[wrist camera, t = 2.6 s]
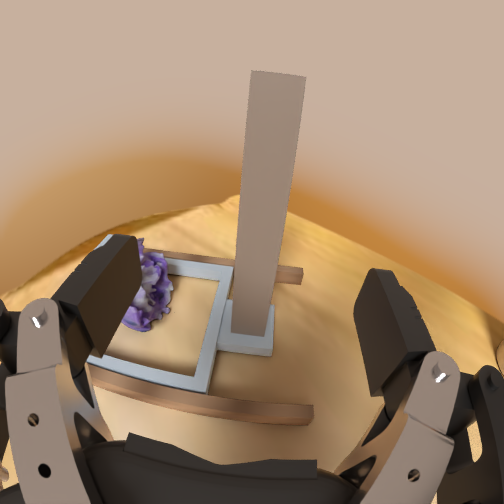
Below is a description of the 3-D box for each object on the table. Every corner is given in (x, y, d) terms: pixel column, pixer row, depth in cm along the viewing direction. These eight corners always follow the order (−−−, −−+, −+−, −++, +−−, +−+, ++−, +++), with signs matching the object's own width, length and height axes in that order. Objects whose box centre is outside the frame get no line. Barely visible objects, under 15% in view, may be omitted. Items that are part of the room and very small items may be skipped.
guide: (32, 357, 20) (25, 347, 19) (107, 253, 36) (105, 242, 35) (307, 425, 19) (313, 417, 18) (300, 278, 36) (302, 268, 35)
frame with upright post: (49, 351, 21) (-31, 116, 8) (113, 259, 35) (95, 86, 22) (268, 406, 20) (351, 71, 7) (274, 281, 34) (304, 84, 22)
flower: (51, 285, 20) (128, 235, 21) (87, 265, 29) (153, 226, 29) (100, 365, 22) (181, 331, 23) (124, 329, 31) (191, 298, 31)
